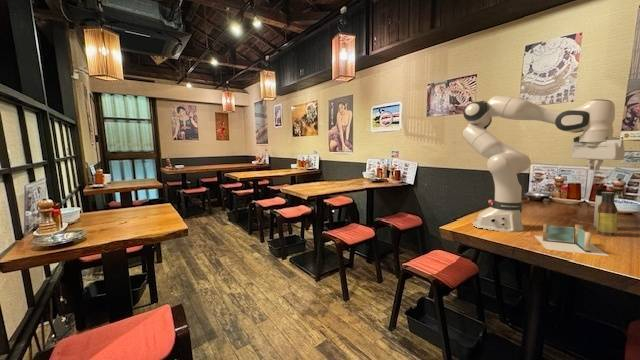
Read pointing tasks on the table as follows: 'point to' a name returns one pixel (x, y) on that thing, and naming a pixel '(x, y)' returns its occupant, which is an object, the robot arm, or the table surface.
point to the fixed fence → (561, 233)
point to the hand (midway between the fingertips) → (594, 169)
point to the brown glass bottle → (597, 202)
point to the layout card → (569, 247)
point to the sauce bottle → (607, 215)
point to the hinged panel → (584, 239)
